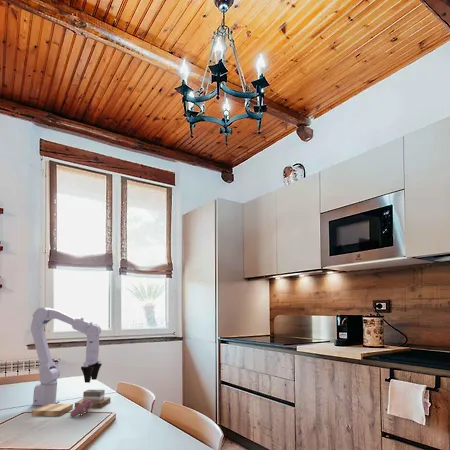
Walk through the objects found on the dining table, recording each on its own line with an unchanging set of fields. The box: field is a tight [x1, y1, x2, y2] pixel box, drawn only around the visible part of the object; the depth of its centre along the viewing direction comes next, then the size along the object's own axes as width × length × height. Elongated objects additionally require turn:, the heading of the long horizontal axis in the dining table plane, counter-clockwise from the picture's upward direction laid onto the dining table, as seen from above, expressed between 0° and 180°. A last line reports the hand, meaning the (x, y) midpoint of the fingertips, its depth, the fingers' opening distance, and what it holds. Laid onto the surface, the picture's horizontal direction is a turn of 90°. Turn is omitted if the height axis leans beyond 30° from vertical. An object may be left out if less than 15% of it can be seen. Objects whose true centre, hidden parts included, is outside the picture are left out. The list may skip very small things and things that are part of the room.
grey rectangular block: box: [82, 389, 106, 401], centre depth 190 cm, size 5×8×4 cm, turn 85°
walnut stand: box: [74, 396, 111, 409], centre depth 190 cm, size 12×12×2 cm
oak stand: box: [31, 403, 74, 417], centre depth 177 cm, size 12×12×2 cm
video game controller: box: [70, 399, 93, 417], centre depth 173 cm, size 10×5×7 cm, turn 169°
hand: (90, 381), depth 194 cm, fingers open, 7 cm apart
